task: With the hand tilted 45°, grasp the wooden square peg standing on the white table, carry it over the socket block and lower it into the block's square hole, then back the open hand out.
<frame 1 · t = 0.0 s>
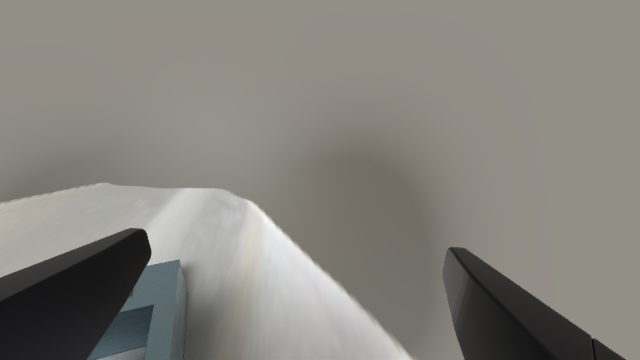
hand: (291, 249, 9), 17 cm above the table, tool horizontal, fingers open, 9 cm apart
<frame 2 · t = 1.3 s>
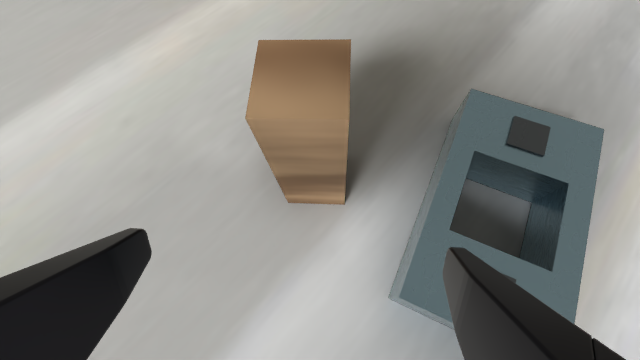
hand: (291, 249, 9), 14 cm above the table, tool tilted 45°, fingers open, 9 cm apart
wooden square peg: (317, 177, 25), on the table
socket block: (482, 221, 23), on the table
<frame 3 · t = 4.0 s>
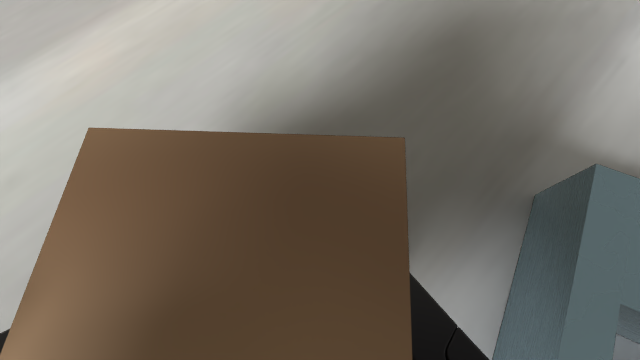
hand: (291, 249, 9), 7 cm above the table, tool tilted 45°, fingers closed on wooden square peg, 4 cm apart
wooden square peg: (308, 298, 15), on the table, touching gripper
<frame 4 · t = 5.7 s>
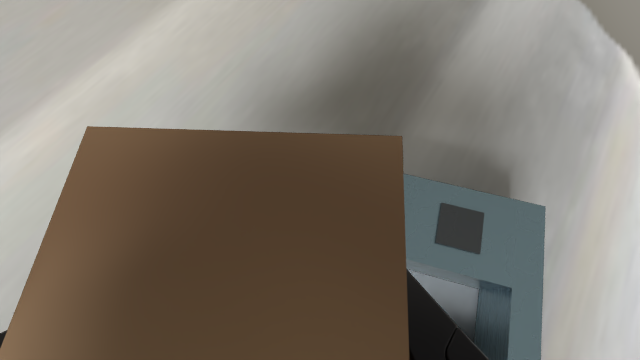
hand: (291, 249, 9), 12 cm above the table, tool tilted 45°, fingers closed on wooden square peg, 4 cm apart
wooden square peg: (307, 297, 15), point 6 cm above the table, touching gripper
socket block: (425, 323, 19), on the table
when the fingers open (7 cm above the table, at t = 7.9 s): wooden square peg stays where it is, resting in socket block.
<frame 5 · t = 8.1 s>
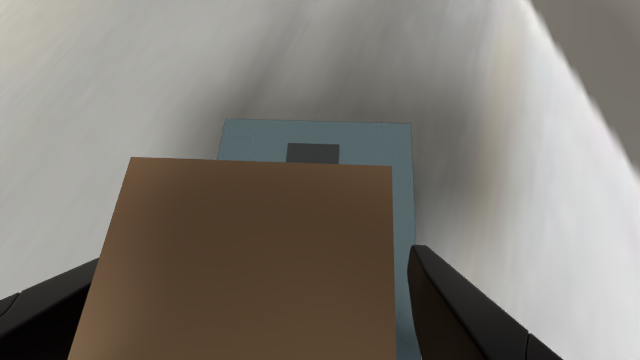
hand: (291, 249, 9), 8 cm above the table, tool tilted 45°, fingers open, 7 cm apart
wooden square peg: (310, 297, 15), resting in socket block
socket block: (310, 297, 15), on the table
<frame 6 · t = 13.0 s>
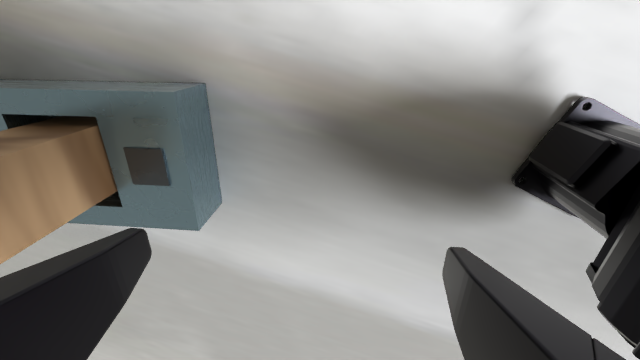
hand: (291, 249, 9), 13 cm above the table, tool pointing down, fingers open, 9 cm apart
wooden square peg: (111, 143, 23), resting in socket block
socket block: (111, 144, 23), on the table
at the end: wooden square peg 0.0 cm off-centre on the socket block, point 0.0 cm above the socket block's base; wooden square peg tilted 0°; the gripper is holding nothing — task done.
